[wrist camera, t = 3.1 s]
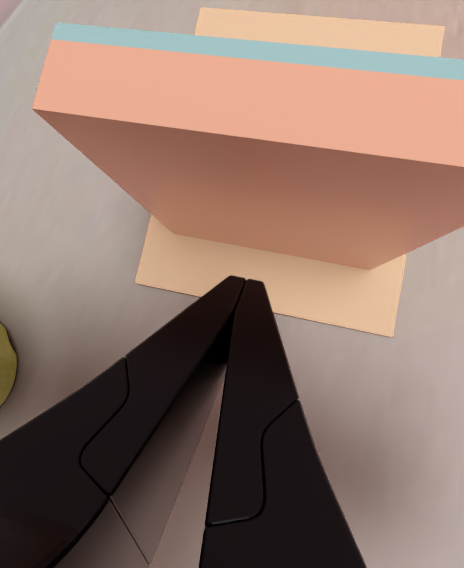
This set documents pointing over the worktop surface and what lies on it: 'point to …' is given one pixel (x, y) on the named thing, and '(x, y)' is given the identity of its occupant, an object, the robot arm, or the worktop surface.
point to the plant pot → (6, 365)
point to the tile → (267, 138)
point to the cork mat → (274, 266)
